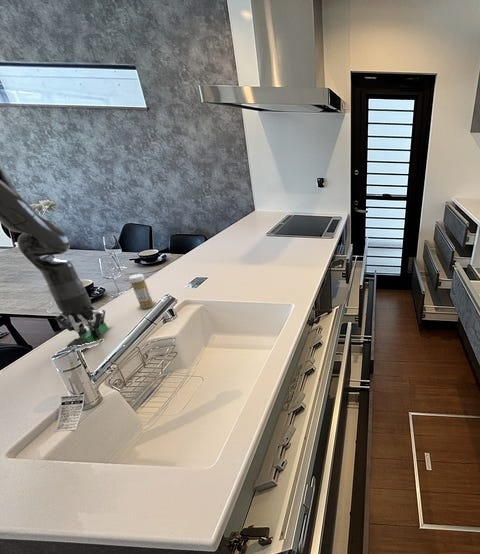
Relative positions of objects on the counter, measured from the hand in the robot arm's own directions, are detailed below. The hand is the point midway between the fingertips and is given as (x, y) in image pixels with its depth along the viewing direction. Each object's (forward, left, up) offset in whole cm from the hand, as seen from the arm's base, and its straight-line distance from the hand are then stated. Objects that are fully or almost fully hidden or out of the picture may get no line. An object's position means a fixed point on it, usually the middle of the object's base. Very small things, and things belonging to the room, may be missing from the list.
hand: (92, 338), depth 102 cm
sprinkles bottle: (+7, +21, -1) cm, 22 cm away
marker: (0, -1, 0) cm, 1 cm away
